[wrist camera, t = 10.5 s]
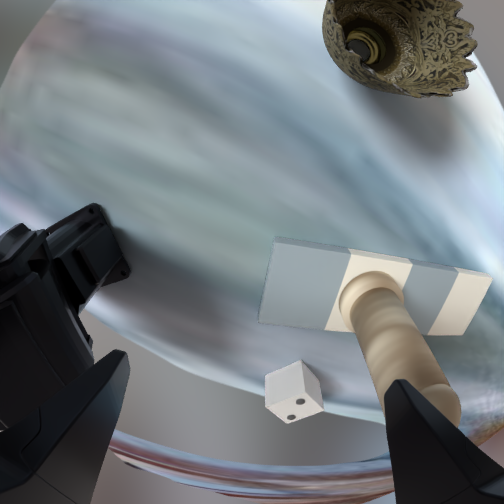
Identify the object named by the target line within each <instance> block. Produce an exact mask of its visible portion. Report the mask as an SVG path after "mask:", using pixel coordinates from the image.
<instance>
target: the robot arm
mask: <svg viewBox="0 0 504 504" xmlns="http://www.w3.org/2000/svg"><path fill="white" fill-rule="evenodd" d="M91 208H93V209H94V212H92V210H91ZM49 233H50V234H49ZM123 270H124V271H125V272H126V273H124V272H123ZM130 274H131V270H130V268H129V266H128V264H127V262H126V260H125V259H124V257H123V255H122V252H121V250H120V248H119V246H118V244H117V242H116V240H115V238H114V236H113V234H112V232H111V230H110V228H109V226H107V223H106V221H105V219H104V217H103V215H102V213H101V211H100V209H99V207H98V205H97V204H95V203H91V204H89V205H87V206H85V207H84V208H82V209H80V210H78V211H76V212H74V213H73V214H71V215H69V216H67V217H66V218H64V219H62V220H60V221H59V222H57V223H55V224H54V225H52V226H50V227H49V228H47V229H46V230H45V229H41V230H37V231H31V229H29V228H28V227H26V226H25V225H24V224H23V223H20V224H17V225H15V226H14V227H12V228H11V229H9V230H8V231H6V232H5V233H3V234H2V235H1V236H0V431H2V432H0V504H90V502H91V499H92V495H93V492H94V489H95V486H96V482H97V479H98V476H99V473H100V470H101V467H102V464H103V461H104V458H105V455H106V452H107V449H108V446H109V443H110V440H111V437H112V435H113V432H114V429H115V426H116V423H117V421H118V418H119V415H120V411H121V408H122V403H123V399H124V395H125V391H126V387H127V383H128V379H129V375H130V365H129V361H128V355H127V353H126V352H125V351H121V350H117V349H115V350H113V351H112V352H110V353H109V354H107V355H106V356H105V357H103V358H102V359H101V360H99V361H98V362H97V363H95V364H94V357H93V352H92V344H93V340H92V339H91V337H90V335H88V334H87V332H86V330H85V328H84V326H83V324H82V322H81V320H80V318H79V316H78V315H79V314H80V313H81V311H82V310H83V309H84V307H85V306H86V305H87V303H88V302H89V301H90V299H91V298H92V297H93V295H94V294H95V293H96V291H97V290H98V289H99V288H100V287H102V286H105V285H108V284H111V283H114V282H117V281H120V280H123V279H126V278H128V277H129V276H130ZM384 408H385V421H386V433H387V440H388V446H389V452H390V458H391V465H392V472H393V480H394V488H395V496H396V504H504V468H503V467H502V466H500V465H499V464H497V463H496V462H495V461H494V460H493V459H491V458H490V457H489V456H487V455H486V454H485V453H484V452H483V451H481V450H480V449H479V448H478V447H477V446H476V445H475V444H474V443H473V442H471V441H470V440H469V439H468V438H467V437H465V435H464V434H463V433H462V432H461V431H460V430H459V429H458V428H457V427H456V426H455V425H454V424H453V423H452V422H451V421H449V420H448V419H447V418H446V417H445V416H444V415H443V414H442V413H441V412H440V411H439V410H438V409H437V408H436V407H435V406H434V405H433V404H432V403H431V402H429V401H428V400H427V399H426V398H425V397H424V396H423V395H422V394H421V393H420V392H419V391H418V390H417V389H416V388H415V387H414V386H413V385H411V384H410V383H409V382H408V381H407V380H406V379H395V380H394V381H393V382H392V384H391V385H390V386H389V388H388V389H387V391H386V392H385V394H384Z"/></svg>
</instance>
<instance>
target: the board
mask: <svg viewBox="0 0 504 504" xmlns="http://www.w3.org/2000/svg"><path fill="white" fill-rule="evenodd" d="M369 271H382V272H385V273H387V274H389V275H390V276H391V277H392V278H393V279H394V280H395V282H396V283H397V285H398V286H399V288H400V289H401V290H402V292H403V295H404V305H403V306H404V307H405V309H406V310H407V312H408V313H409V315H410V317H411V318H412V320H413V321H414V323H415V325H416V326H417V328H418V330H419V331H420V333H421V335H463V333H464V332H465V330H466V328H467V327H468V325H469V323H470V322H471V320H472V318H473V316H474V314H475V313H476V311H477V309H478V307H479V305H480V303H481V301H482V300H483V298H484V296H485V294H486V292H487V290H488V288H489V286H490V283H491V281H492V279H493V278H492V277H490V276H489V275H488V274H487V273H482V272H477V271H472V270H466V269H461V268H456V267H451V266H445V265H440V264H435V263H429V262H424V261H418V260H413V259H407V258H402V257H396V256H390V255H385V254H379V253H373V252H367V251H361V250H355V249H349V248H343V247H337V246H331V245H325V244H319V243H313V242H307V241H301V240H294V239H288V238H282V237H275V236H274V241H273V246H272V251H271V256H270V260H269V265H268V270H267V275H266V280H265V284H264V289H263V294H262V298H261V303H260V308H259V312H258V323H261V324H270V325H278V326H287V327H297V328H307V329H318V330H329V331H342V332H352V331H350V330H349V329H348V328H347V327H346V325H345V323H344V321H343V318H342V315H341V313H340V310H339V298H340V294H341V292H342V290H343V289H344V287H345V286H346V285H347V284H348V283H349V282H350V281H351V280H352V279H353V278H355V277H356V276H358V275H360V274H362V273H365V272H369Z"/></svg>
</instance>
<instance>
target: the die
mask: <svg viewBox="0 0 504 504" xmlns="http://www.w3.org/2000/svg"><path fill="white" fill-rule="evenodd" d="M265 407H266V408H267V409H269V410H270V411H271V412H272V413H274V414H275V415H276V416H278V417H279V418H280V419H282V420H283V421H284V422H286V423H287V424H288V423H291V422H294V421H297V420H300V419H302V418H305V417H308V416H310V415H313V414H316V413H319V412H321V411H324V406H323V400H322V395H321V389H320V384H319V380H318V378H317V377H316V376H315V375H314V374H313V373H312V372H311V371H310V369H309V368H308V367H307V366H306V365H305V364H304V363H303V362H302V360H299V361H297V362H294V363H292V364H290V365H288V366H285V367H283V368H281V369H278V370H276V371H274V372H271V373H269V374H266V375H265Z"/></svg>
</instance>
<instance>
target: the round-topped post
mask: <svg viewBox="0 0 504 504" xmlns="http://www.w3.org/2000/svg"><path fill="white" fill-rule="evenodd" d="M403 305H404V295H403V292H402V290H401V289H400V288H399V286H398V285H397V283H396V282H395V280H394V279H393V278H392V277H391V276H390V275H389V274H387V273H385V272H382V271H369V272H365V273H362V274H360V275H358V276H356V277H355V278H353V279H352V280H351V281H350V282H349V283H348V284H347V285H346V286H345V287H344V289H343V290H342V292H341V294H340V298H339V310H340V313H341V315H342V318H343V321H344V323H345V325H346V327H347V328H348V329H349V330H350V331H352V332H353V333H355V334H356V336H357V339H358V342H359V344H360V347H361V350H362V352H363V355H364V358H365V361H366V363H367V366H368V369H369V372H370V375H371V378H372V380H373V383H374V386H375V389H376V392H377V395H378V398H379V401H380V404H381V407H382V410H383V414H384V417H385V408H384V394H385V392H386V391H387V389H388V388H389V386H390V385H391V384H392V382H393V381H394V380H395V379H406V380H407V381H408V382H409V383H410V384H411V385H413V386H414V387H415V388H416V389H417V390H418V391H419V392H420V393H421V394H422V395H423V396H424V397H425V398H426V399H427V400H428V401H429V402H431V403H432V404H433V405H434V406H435V407H436V408H437V409H438V410H439V411H440V412H441V413H442V414H443V415H444V416H445V417H446V418H447V419H448V420H449V421H451V422H452V423H453V424H454V425H455V426H456V427H457V428H458V426H459V423H460V419H461V405H460V401H459V398H458V396H457V395H456V393H455V392H454V391H453V389H452V388H451V387H450V385H449V383H448V381H447V379H446V377H445V375H444V373H443V371H442V370H441V368H440V366H439V364H438V362H437V361H436V359H435V357H434V355H433V353H432V352H431V350H430V348H429V346H428V345H427V343H426V341H425V340H424V338H423V336H422V335H421V333H420V331H419V330H418V328H417V326H416V325H415V323H414V321H413V320H412V318H411V317H410V315H409V313H408V312H407V310H406V309H405V307H404V306H403Z"/></svg>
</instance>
